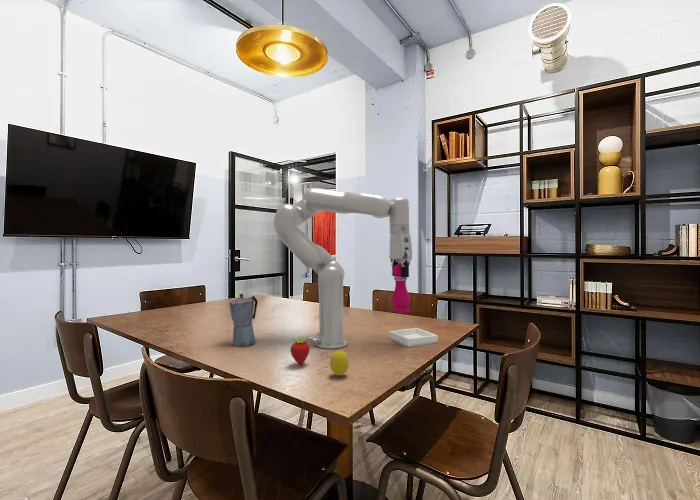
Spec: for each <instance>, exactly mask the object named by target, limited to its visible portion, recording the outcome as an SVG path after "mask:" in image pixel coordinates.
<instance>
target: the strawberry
mask: <svg viewBox="0 0 700 500" xmlns="http://www.w3.org/2000/svg"><path fill="white" fill-rule="evenodd" d="M306 339H307V338H304V339H302V337H300V339H294V342H293V344H292V345H291V346H290V353H291V357H292V358H293V359H294V361H295V362H296V363H297V364H298V365H299V366H300V367H301V366H303V365H304V363H305V361H306V360H307V357H308V356H309V354H310V349H311V347H310V344H309V343H308V340H306Z"/></svg>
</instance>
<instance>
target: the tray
mask: <svg viewBox="0 0 700 500" xmlns="http://www.w3.org/2000/svg"><path fill="white" fill-rule="evenodd" d="M438 338H439V337H438V335H437V334H434V333H432V332H430V331H427V330H425V329H421V328H418V327H414V328H413V327H412V328H405V329H397V330H389V331H388V339H390V340H392V341H393V342H396V343H398V344H400V345H402V346H404V347H406V348H413V347H418V346H425V345H433V344H438V343H439V342H438V341H439V339H438Z"/></svg>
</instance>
